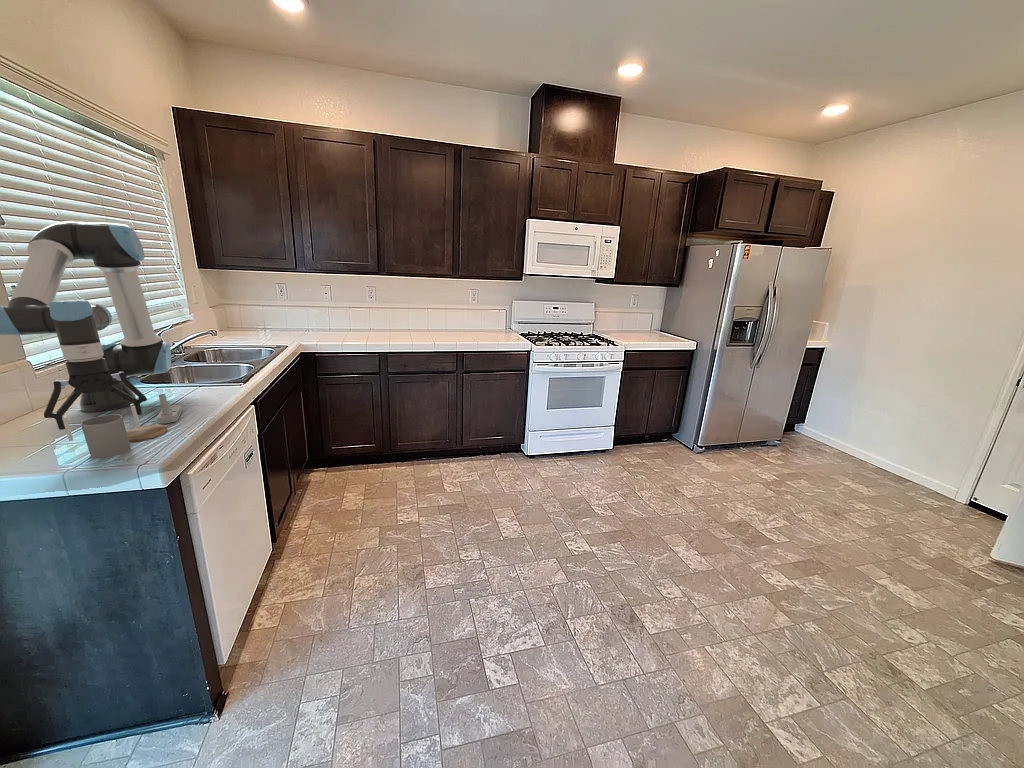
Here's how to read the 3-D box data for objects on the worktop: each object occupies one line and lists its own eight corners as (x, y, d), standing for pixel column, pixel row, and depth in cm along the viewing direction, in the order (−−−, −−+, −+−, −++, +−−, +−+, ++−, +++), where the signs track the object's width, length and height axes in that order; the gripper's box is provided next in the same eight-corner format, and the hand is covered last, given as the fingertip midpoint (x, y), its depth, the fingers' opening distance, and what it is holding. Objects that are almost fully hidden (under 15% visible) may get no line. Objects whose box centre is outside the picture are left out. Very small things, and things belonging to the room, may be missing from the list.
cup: (135, 443, 123) (126, 412, 120) (126, 455, 116) (116, 422, 113) (97, 449, 119) (87, 417, 116) (85, 461, 112) (75, 427, 109)
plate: (114, 434, 129) (113, 431, 128) (163, 423, 137) (162, 421, 137) (119, 445, 121) (119, 442, 121) (171, 434, 130) (170, 431, 129)
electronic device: (177, 385, 148) (170, 395, 136) (183, 410, 151) (177, 423, 138) (158, 387, 146) (149, 398, 133) (165, 413, 148) (157, 426, 136)
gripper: (12, 369, 98) (39, 450, 104) (148, 354, 116) (165, 423, 122) (13, 364, 103) (39, 441, 108) (144, 350, 120) (160, 417, 126)
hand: (105, 432), depth 115 cm, fingers open, 13 cm apart
